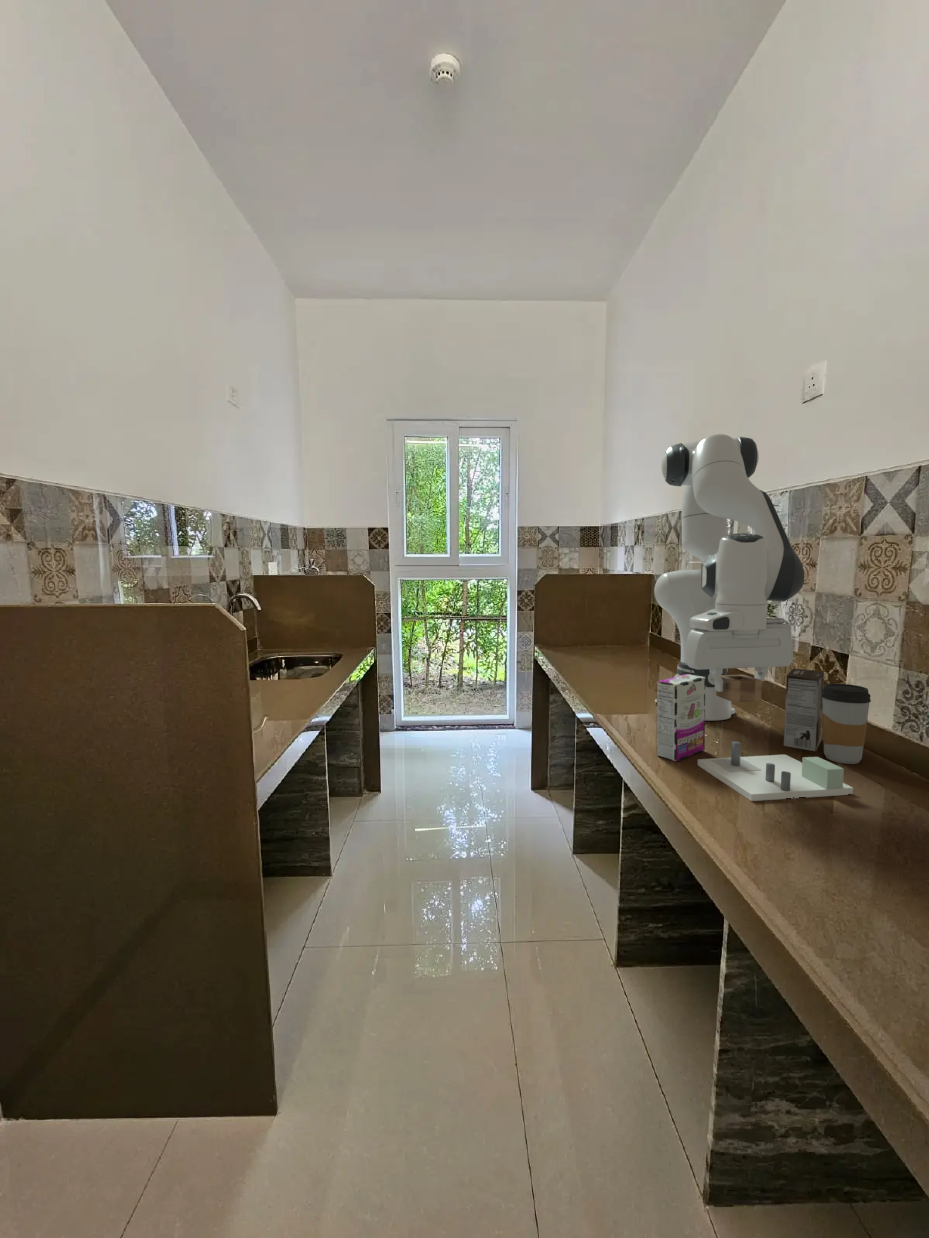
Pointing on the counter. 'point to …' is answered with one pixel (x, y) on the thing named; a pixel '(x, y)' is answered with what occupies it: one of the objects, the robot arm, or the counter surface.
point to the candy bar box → (680, 716)
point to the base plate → (766, 776)
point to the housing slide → (822, 772)
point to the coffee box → (803, 709)
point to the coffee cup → (844, 721)
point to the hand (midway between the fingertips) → (738, 690)
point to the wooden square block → (741, 688)
